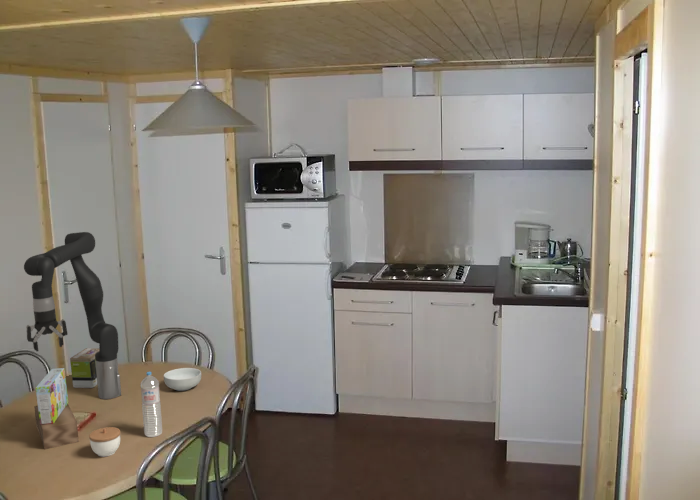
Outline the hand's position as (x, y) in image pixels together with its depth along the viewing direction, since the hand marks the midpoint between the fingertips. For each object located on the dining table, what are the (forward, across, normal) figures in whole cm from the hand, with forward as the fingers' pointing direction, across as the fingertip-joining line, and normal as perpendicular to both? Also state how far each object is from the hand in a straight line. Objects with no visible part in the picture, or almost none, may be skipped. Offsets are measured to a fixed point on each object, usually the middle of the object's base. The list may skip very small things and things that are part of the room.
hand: (48, 348), depth 269 cm
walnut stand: (+33, +1, +3) cm, 34 cm away
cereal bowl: (+35, -56, -16) cm, 68 cm away
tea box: (+34, -22, -49) cm, 64 cm away
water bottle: (+34, -30, +26) cm, 53 cm away
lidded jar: (+34, -11, +33) cm, 48 cm away
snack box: (+26, +1, +3) cm, 26 cm away
